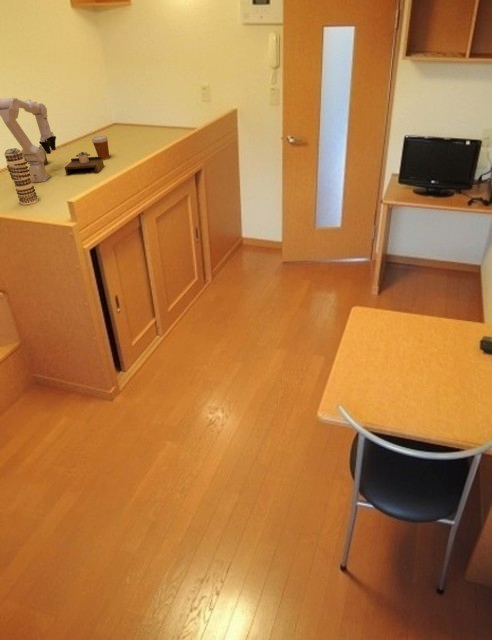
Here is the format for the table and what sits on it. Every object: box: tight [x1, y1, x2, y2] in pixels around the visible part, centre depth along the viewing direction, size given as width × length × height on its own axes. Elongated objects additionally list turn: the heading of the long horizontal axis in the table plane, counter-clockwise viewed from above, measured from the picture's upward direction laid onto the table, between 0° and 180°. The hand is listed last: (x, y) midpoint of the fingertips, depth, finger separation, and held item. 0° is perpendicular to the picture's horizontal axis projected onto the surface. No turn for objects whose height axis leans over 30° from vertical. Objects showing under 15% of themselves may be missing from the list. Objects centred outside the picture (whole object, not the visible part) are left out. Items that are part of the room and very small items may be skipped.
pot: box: [75, 151, 91, 163], centre depth 274 cm, size 5×8×5 cm
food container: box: [38, 144, 49, 167], centre depth 292 cm, size 12×6×10 cm, turn 168°
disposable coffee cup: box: [91, 135, 110, 160], centre depth 293 cm, size 10×10×12 cm
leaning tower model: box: [3, 147, 39, 206], centre depth 232 cm, size 9×9×25 cm
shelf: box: [64, 156, 105, 176], centre depth 275 cm, size 13×18×6 cm
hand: (51, 151), depth 276 cm, fingers open, 7 cm apart
